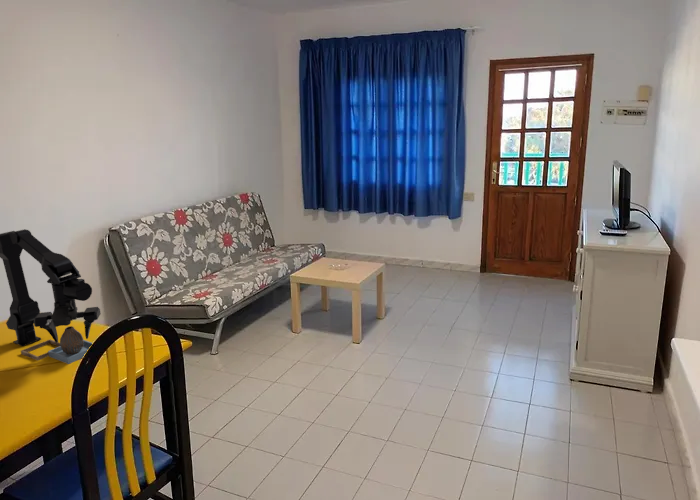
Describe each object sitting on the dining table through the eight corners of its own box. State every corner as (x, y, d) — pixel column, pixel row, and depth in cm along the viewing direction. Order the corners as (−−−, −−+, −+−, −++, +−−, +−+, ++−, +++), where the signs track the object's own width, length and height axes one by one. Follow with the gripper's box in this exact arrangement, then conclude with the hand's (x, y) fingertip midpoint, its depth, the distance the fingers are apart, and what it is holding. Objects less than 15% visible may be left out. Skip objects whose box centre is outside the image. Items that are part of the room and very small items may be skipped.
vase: (75, 357, 170) (71, 332, 167) (57, 355, 171) (52, 331, 169) (89, 347, 176) (85, 324, 174) (71, 346, 178) (67, 322, 175)
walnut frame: (21, 354, 174) (20, 350, 174) (50, 342, 183) (50, 339, 182) (37, 360, 169) (37, 357, 169) (67, 348, 178) (66, 345, 177)
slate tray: (49, 356, 172) (48, 351, 172) (80, 343, 181) (79, 338, 181) (68, 364, 166) (67, 358, 166) (99, 350, 176) (98, 344, 175)
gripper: (23, 308, 159) (33, 354, 163) (89, 301, 163) (97, 347, 167) (35, 296, 169) (44, 340, 173) (97, 290, 173) (104, 333, 177)
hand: (72, 340), depth 172 cm, fingers open, 9 cm apart
